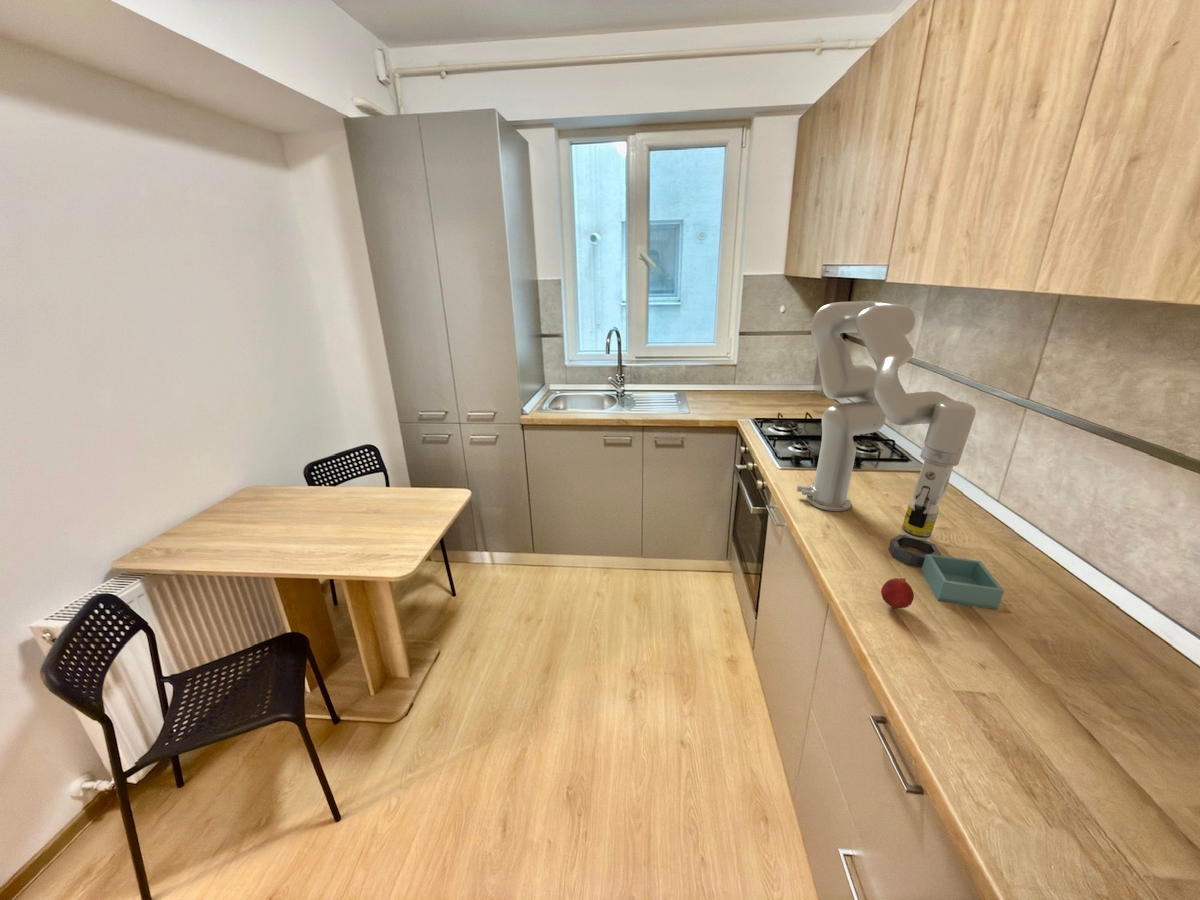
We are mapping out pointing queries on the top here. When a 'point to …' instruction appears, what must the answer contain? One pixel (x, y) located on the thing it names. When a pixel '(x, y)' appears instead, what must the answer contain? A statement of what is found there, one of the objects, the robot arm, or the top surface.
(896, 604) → the onion
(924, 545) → the socket collar
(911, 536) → the pill bottle
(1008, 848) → the top surface
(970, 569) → the bin
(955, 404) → the robot arm
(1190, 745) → the top surface
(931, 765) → the top surface
